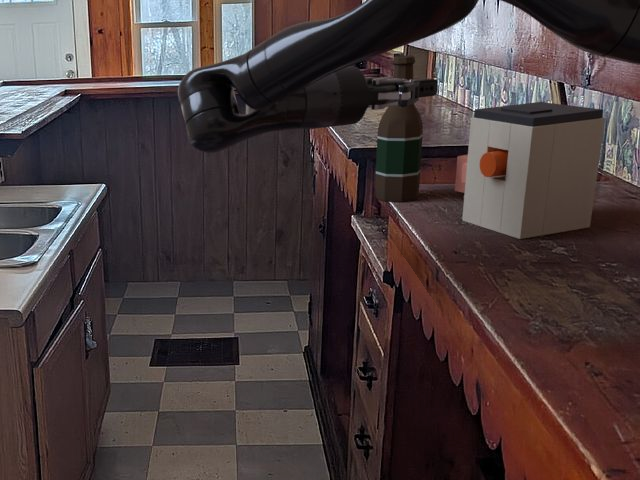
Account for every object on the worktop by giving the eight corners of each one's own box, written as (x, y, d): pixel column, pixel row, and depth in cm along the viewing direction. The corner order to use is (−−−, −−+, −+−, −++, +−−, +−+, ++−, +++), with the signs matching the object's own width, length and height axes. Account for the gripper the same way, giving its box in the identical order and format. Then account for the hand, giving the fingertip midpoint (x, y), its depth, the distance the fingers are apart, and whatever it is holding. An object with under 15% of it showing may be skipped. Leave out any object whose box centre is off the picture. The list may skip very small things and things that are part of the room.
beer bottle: (403, 204, 149) (411, 58, 140) (365, 199, 154) (371, 57, 145) (427, 196, 154) (437, 54, 144) (390, 191, 159) (397, 53, 150)
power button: (500, 172, 131) (502, 147, 129) (516, 175, 128) (519, 151, 126) (478, 175, 129) (480, 150, 128) (494, 179, 126) (497, 154, 125)
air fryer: (528, 210, 141) (540, 99, 134) (589, 227, 130) (607, 107, 123) (462, 220, 137) (471, 107, 130) (519, 239, 126) (533, 116, 119)
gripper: (351, 71, 107) (467, 60, 112) (299, 65, 118) (407, 56, 124) (349, 133, 110) (462, 119, 115) (299, 121, 121) (404, 110, 127)
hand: (433, 86), depth 119 cm, fingers closed
